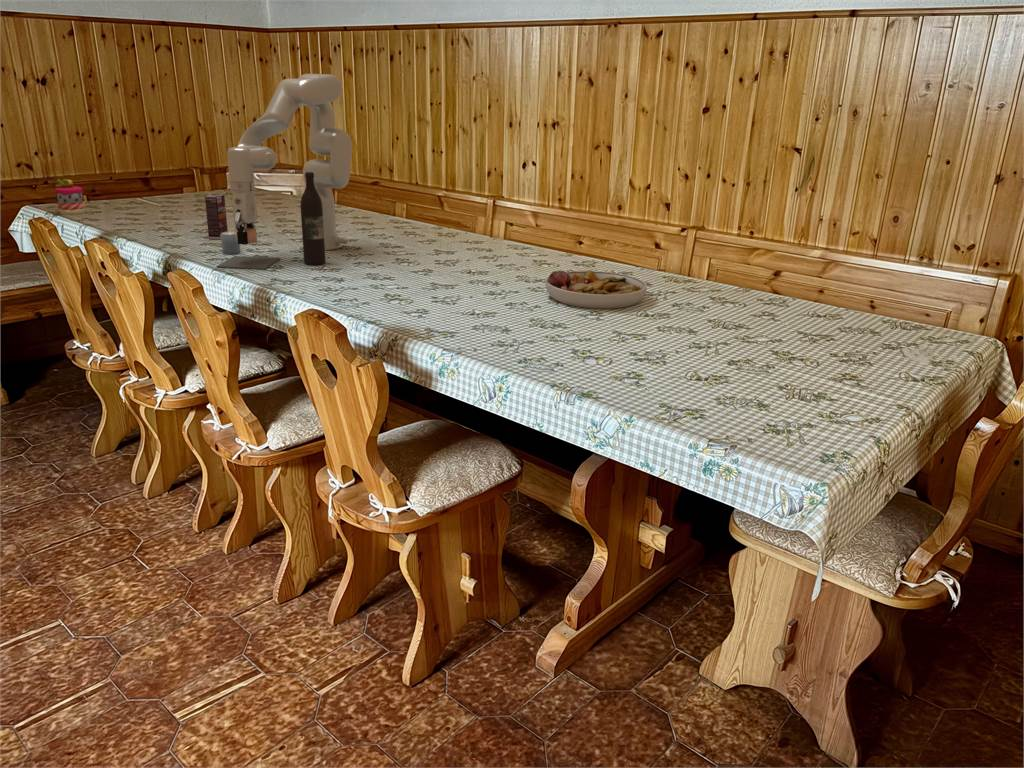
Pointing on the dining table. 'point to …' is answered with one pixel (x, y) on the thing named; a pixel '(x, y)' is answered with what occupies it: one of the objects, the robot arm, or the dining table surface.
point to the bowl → (595, 289)
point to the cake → (69, 198)
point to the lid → (250, 235)
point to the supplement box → (216, 215)
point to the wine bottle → (312, 224)
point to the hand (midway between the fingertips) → (246, 241)
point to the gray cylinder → (229, 243)
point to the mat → (249, 262)
